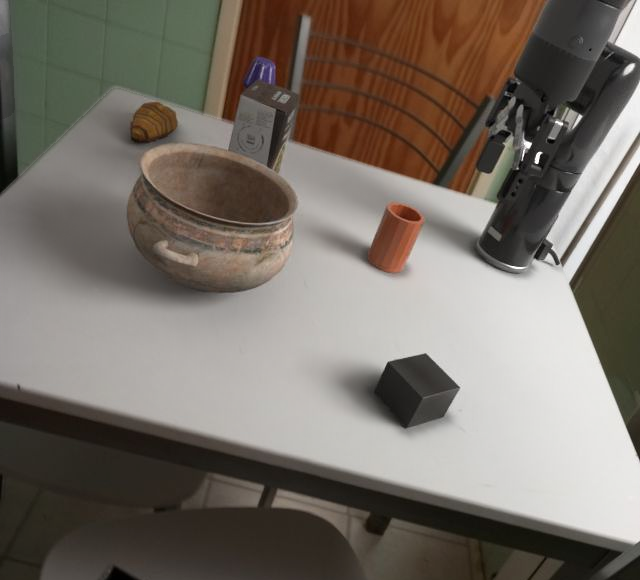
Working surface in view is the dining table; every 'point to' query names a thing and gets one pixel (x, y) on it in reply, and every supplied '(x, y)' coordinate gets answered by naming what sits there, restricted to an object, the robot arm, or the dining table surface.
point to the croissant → (152, 123)
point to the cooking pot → (211, 217)
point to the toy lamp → (260, 72)
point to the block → (416, 390)
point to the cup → (395, 237)
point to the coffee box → (264, 123)
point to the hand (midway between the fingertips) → (492, 186)
